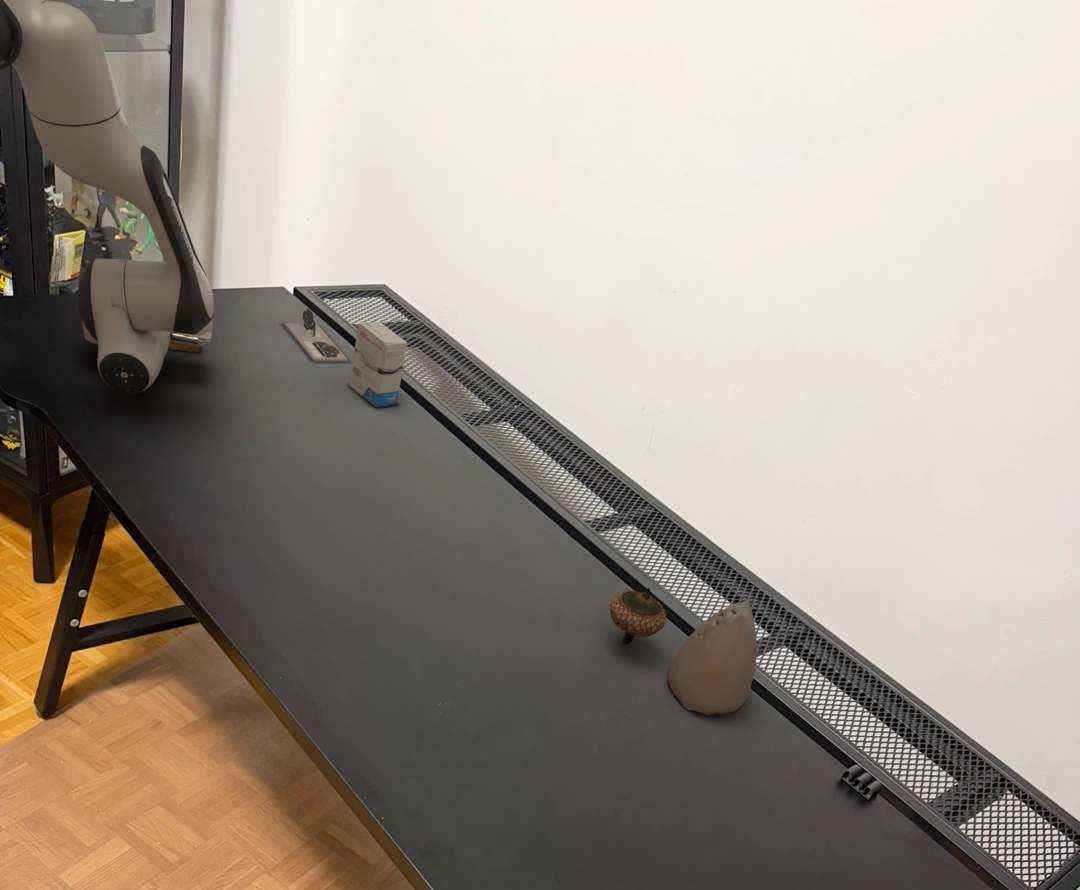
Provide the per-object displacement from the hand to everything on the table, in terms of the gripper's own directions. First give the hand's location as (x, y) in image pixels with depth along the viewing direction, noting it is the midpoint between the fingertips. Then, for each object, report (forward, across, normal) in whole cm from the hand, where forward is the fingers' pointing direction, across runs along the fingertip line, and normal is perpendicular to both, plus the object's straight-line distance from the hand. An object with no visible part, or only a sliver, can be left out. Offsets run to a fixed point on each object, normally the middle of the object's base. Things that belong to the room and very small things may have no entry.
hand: (154, 298), depth 171 cm
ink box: (-4, -38, +8) cm, 39 cm away
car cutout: (+13, -27, +8) cm, 31 cm away
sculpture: (-77, -84, +8) cm, 115 cm away
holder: (+5, 0, +8) cm, 9 cm away
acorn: (-69, -74, +8) cm, 101 cm away
